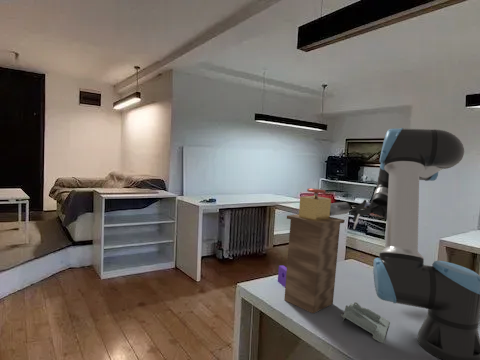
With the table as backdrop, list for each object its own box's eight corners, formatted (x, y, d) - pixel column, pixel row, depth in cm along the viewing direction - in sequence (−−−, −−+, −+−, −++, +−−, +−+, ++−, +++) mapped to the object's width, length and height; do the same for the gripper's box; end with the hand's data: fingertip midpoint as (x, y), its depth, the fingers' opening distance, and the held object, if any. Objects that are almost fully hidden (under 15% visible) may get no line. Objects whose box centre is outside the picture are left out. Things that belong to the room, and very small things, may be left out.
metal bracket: (340, 311, 96) (352, 294, 109) (333, 327, 98) (345, 309, 110) (390, 340, 90) (395, 319, 102) (381, 357, 91) (388, 334, 104)
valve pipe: (335, 212, 127) (338, 187, 127) (352, 215, 122) (354, 189, 121) (298, 217, 111) (300, 188, 110) (316, 220, 106) (318, 191, 105)
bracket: (285, 289, 125) (286, 271, 124) (277, 282, 131) (278, 265, 131) (312, 286, 129) (313, 269, 129) (303, 280, 135) (304, 264, 135)
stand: (304, 290, 124) (310, 212, 122) (336, 304, 114) (344, 219, 111) (280, 299, 114) (286, 215, 112) (313, 315, 104) (321, 223, 102)
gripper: (409, 215, 139) (403, 250, 125) (351, 197, 148) (338, 228, 134) (415, 202, 134) (409, 238, 120) (354, 184, 143) (342, 215, 129)
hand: (372, 233), depth 127 cm, fingers open, 13 cm apart
